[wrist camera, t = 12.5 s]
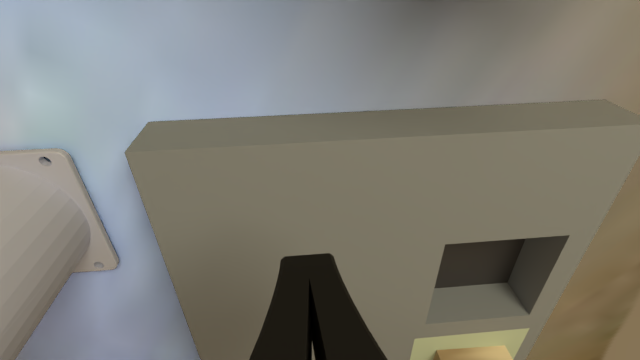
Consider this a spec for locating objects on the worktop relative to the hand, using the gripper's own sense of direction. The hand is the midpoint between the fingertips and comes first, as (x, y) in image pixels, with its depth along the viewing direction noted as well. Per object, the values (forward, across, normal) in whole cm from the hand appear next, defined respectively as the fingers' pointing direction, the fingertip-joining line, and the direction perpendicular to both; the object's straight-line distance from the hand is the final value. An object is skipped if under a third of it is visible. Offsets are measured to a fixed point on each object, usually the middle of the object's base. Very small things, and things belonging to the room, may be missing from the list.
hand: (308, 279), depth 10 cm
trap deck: (+9, -4, +15) cm, 18 cm away
